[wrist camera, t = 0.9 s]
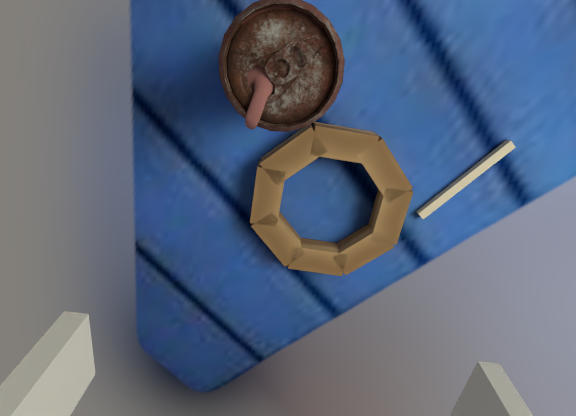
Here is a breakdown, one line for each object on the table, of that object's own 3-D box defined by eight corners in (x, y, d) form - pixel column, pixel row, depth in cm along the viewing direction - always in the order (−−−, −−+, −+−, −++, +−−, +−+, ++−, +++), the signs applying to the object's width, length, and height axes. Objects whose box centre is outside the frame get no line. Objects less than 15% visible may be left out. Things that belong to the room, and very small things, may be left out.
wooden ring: (265, 113, 30) (264, 117, 29) (420, 139, 31) (428, 144, 29) (246, 251, 36) (244, 262, 34) (379, 270, 37) (384, 282, 35)
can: (237, 90, 30) (197, 113, 17) (262, 11, 27) (238, -33, 15) (303, 116, 31) (313, 158, 18) (333, 42, 28) (370, 27, 15)
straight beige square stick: (420, 216, 34) (423, 219, 34) (416, 211, 34) (418, 213, 34) (511, 145, 32) (515, 147, 31) (506, 139, 31) (510, 140, 31)
